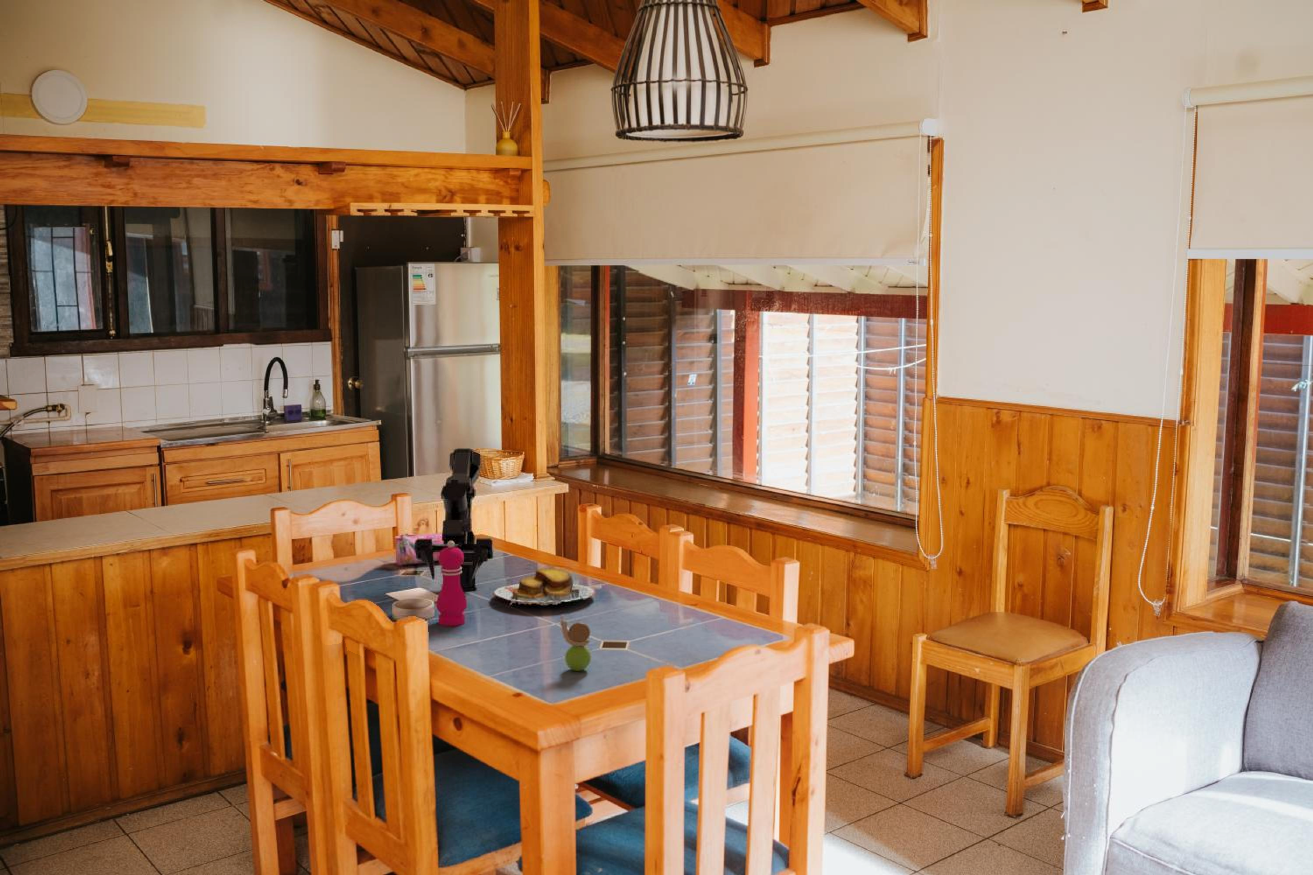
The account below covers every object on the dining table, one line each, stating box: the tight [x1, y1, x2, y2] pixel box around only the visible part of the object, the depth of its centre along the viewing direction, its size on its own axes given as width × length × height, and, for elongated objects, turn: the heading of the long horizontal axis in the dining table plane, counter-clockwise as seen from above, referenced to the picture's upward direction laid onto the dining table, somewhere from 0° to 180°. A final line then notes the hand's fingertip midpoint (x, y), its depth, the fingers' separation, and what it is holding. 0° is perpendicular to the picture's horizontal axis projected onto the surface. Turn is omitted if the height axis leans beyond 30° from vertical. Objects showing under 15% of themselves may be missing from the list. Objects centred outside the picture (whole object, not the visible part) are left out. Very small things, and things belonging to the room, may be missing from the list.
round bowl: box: [391, 599, 435, 621], centre depth 286 cm, size 10×10×3 cm
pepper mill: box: [435, 541, 468, 627], centre depth 280 cm, size 7×7×20 cm
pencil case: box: [394, 532, 443, 566], centre depth 341 cm, size 21×9×9 cm, turn 121°
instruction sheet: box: [385, 587, 439, 603], centre depth 303 cm, size 10×14×1 cm
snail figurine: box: [560, 614, 592, 672], centre depth 248 cm, size 5×6×12 cm
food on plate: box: [492, 567, 596, 606], centre depth 302 cm, size 26×26×7 cm
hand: (452, 578), depth 283 cm, fingers open, 9 cm apart
